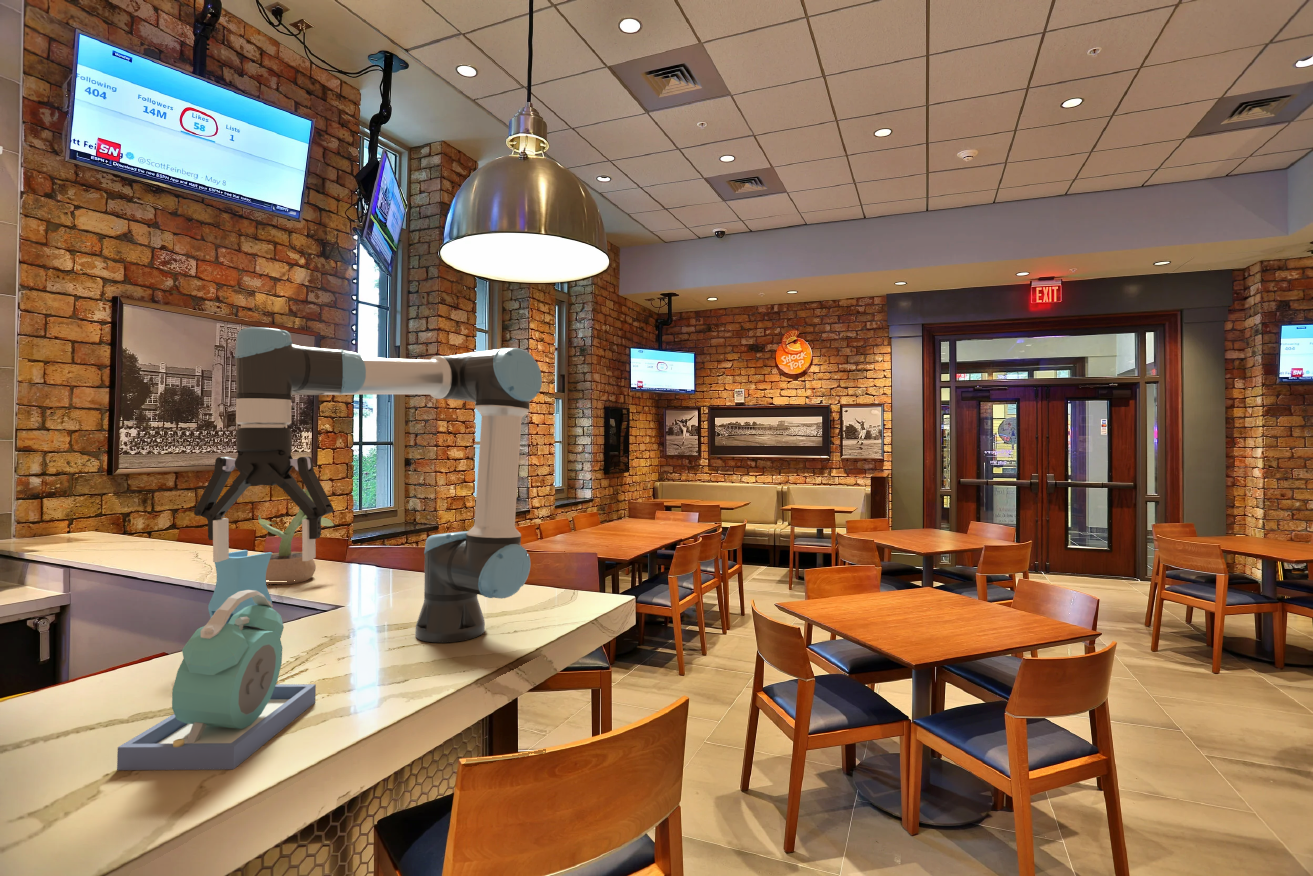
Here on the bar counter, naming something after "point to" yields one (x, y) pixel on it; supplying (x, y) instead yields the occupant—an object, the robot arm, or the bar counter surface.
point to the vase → (239, 579)
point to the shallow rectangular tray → (214, 737)
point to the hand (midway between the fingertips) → (265, 560)
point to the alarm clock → (229, 666)
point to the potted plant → (289, 553)
